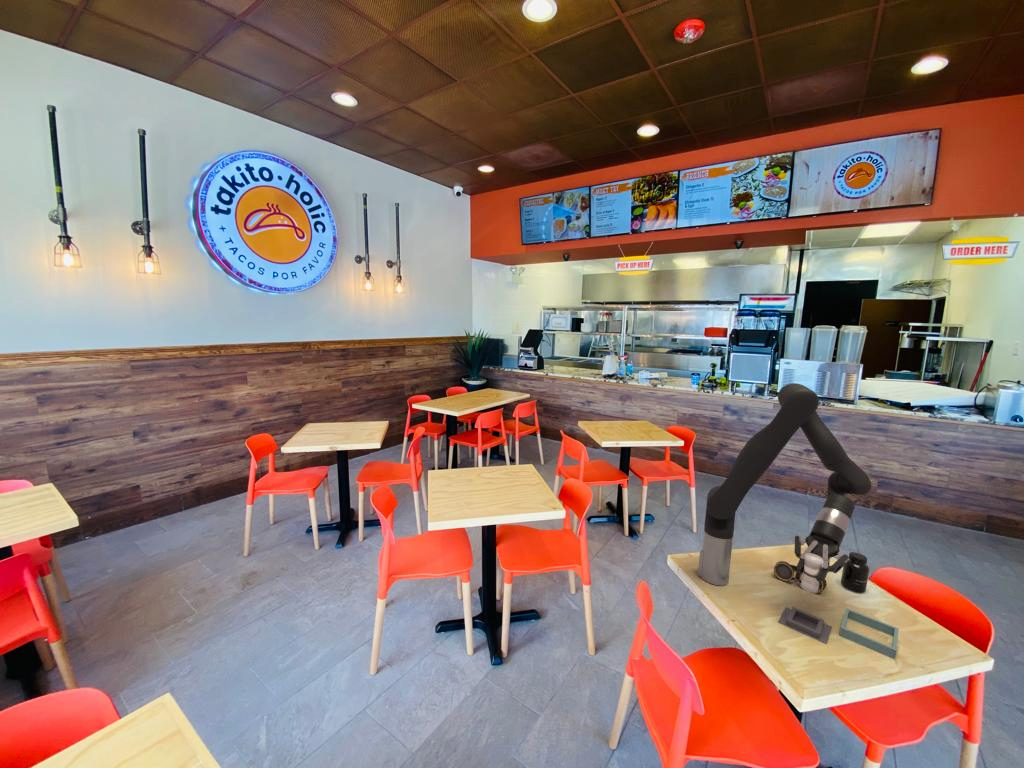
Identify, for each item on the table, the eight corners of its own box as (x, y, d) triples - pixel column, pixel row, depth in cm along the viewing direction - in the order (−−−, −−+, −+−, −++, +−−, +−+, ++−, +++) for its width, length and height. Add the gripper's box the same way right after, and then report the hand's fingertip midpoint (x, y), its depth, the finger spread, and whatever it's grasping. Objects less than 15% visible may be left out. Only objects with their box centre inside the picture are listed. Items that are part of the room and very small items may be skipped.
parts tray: (838, 638, 121) (840, 627, 120) (844, 618, 129) (846, 608, 129) (894, 662, 112) (896, 650, 112) (896, 639, 121) (898, 628, 120)
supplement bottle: (859, 596, 140) (865, 563, 138) (836, 584, 146) (841, 552, 144) (869, 590, 143) (875, 558, 142) (846, 579, 149) (851, 548, 148)
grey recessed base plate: (777, 625, 125) (778, 617, 125) (785, 609, 133) (786, 602, 132) (826, 647, 117) (827, 639, 117) (831, 629, 124) (833, 621, 124)
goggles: (769, 577, 149) (775, 550, 149) (779, 571, 158) (784, 545, 158) (821, 599, 138) (827, 569, 138) (829, 591, 147) (834, 563, 147)
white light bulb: (799, 588, 123) (804, 556, 122) (802, 582, 126) (806, 551, 125) (816, 594, 120) (821, 562, 119) (819, 588, 123) (824, 557, 122)
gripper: (801, 511, 130) (779, 559, 125) (858, 531, 119) (836, 584, 114) (805, 523, 134) (784, 569, 129) (861, 542, 123) (840, 595, 118)
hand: (808, 576), depth 121 cm, fingers closed on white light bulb, 4 cm apart
